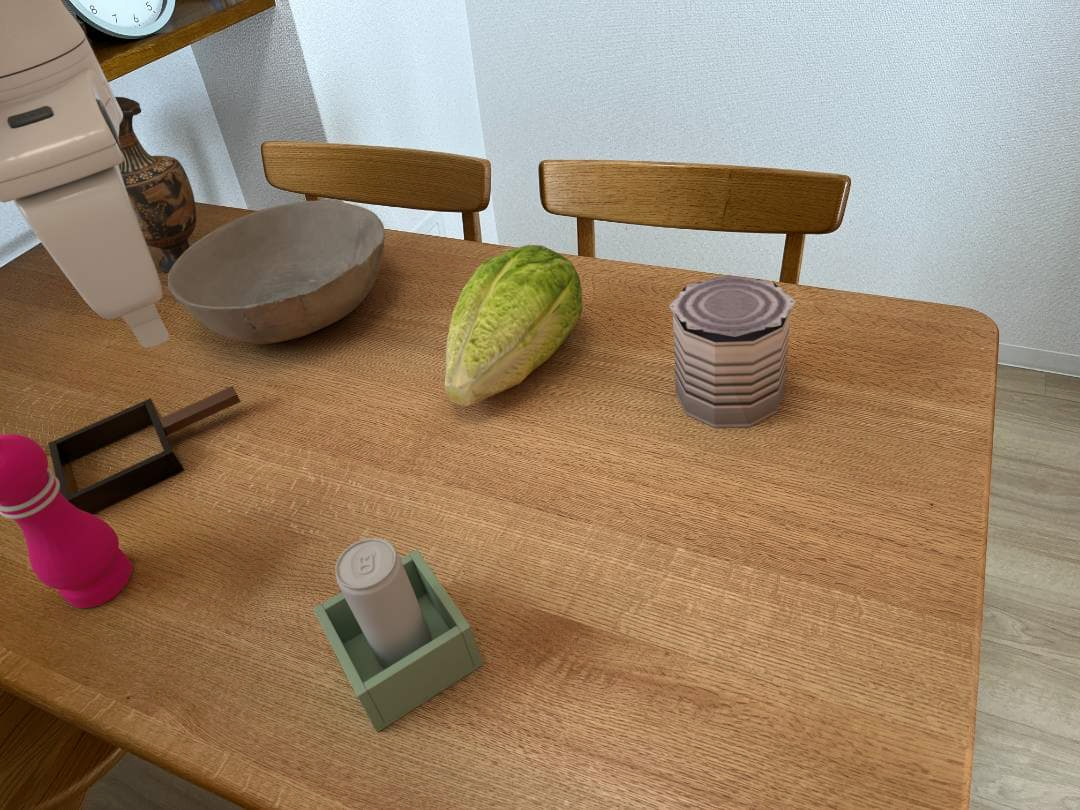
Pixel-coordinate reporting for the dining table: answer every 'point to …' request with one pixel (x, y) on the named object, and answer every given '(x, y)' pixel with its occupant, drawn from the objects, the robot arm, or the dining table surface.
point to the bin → (417, 672)
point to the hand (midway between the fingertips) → (142, 308)
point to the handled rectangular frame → (118, 428)
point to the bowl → (281, 270)
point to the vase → (156, 192)
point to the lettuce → (509, 321)
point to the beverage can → (382, 600)
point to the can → (731, 349)
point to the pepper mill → (59, 529)
